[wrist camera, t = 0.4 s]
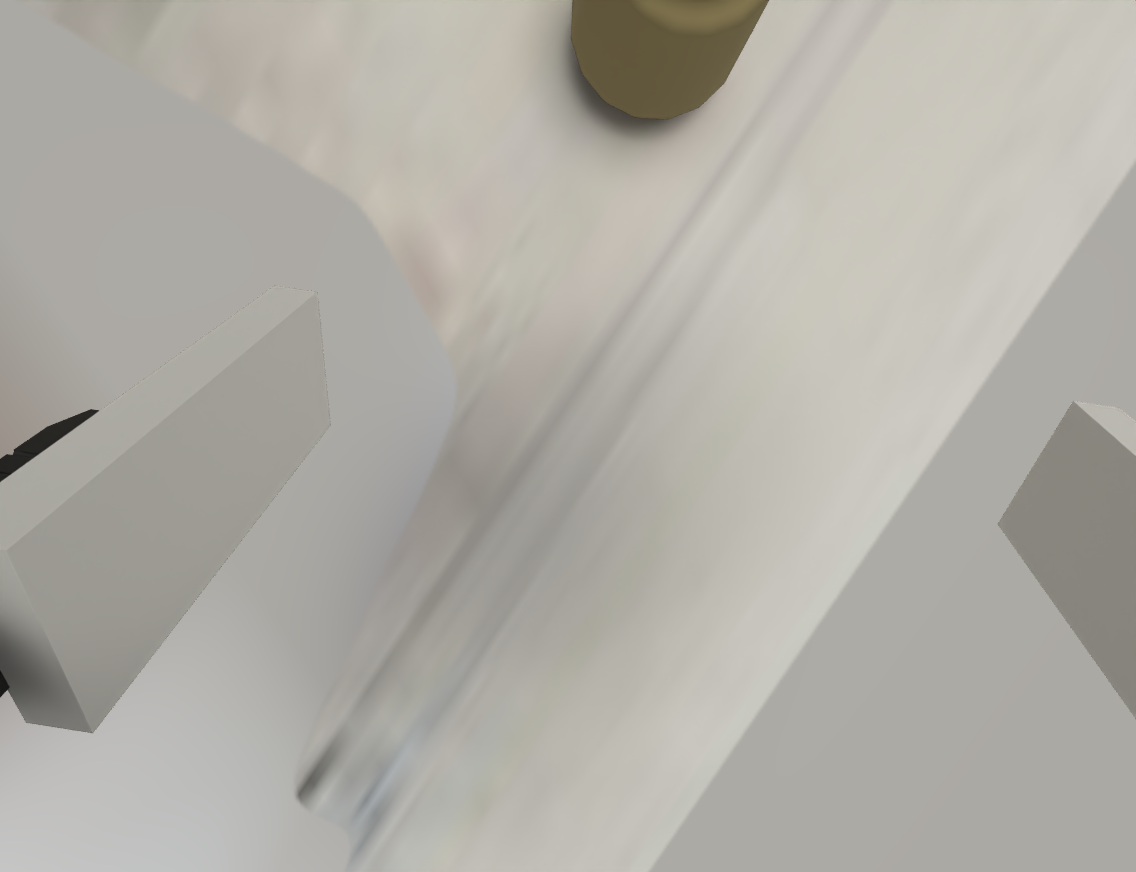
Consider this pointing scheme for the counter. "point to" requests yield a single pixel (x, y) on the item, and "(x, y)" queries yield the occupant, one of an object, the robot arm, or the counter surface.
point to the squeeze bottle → (660, 50)
